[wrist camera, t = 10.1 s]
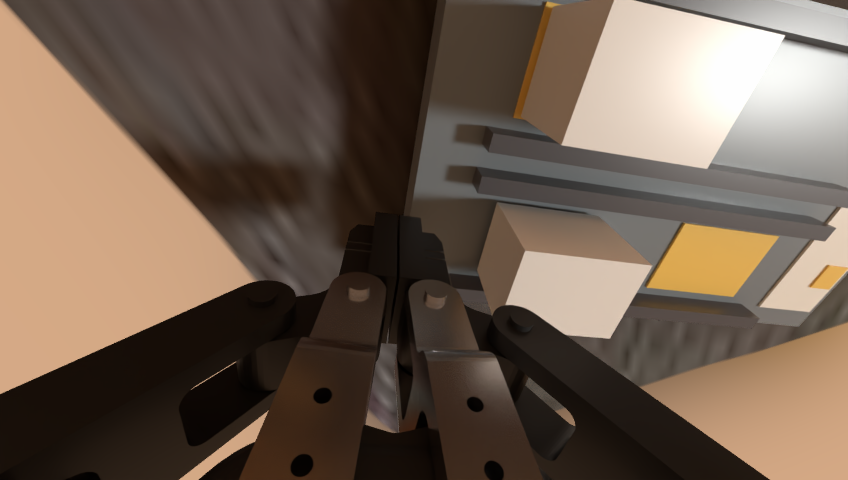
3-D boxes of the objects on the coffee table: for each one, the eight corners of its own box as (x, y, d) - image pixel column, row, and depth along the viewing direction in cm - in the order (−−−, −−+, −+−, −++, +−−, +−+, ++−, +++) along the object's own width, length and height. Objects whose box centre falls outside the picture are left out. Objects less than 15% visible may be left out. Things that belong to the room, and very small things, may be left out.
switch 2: (680, 34, 10) (785, 35, 8) (633, 136, 12) (706, 169, 9) (553, 6, 10) (615, -4, 7) (520, 116, 11) (561, 145, 9)
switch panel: (929, 54, 14) (1096, 61, 11) (747, 288, 20) (819, 341, 17) (447, -61, 12) (467, -99, 8) (397, 249, 17) (398, 303, 14)
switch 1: (598, 216, 13) (652, 265, 11) (569, 279, 15) (609, 338, 12) (497, 202, 13) (525, 250, 10) (476, 269, 14) (496, 329, 11)
